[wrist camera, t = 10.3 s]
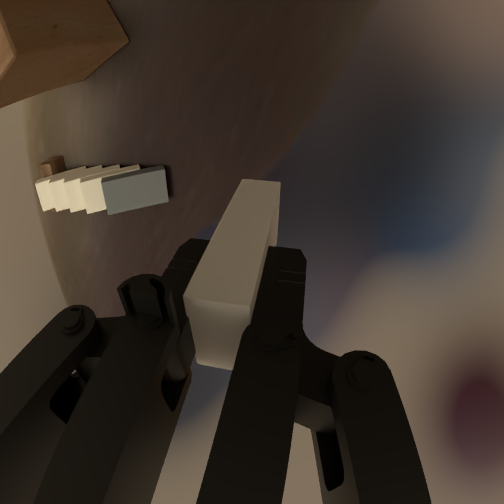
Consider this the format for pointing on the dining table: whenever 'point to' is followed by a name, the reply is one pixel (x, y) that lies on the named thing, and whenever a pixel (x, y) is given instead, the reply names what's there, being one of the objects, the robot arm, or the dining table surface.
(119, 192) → the domino
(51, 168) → the end block
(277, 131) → the dining table surface
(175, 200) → the dining table surface
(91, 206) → the domino
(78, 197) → the domino
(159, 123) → the dining table surface
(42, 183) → the domino
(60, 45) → the wooden block
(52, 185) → the domino
